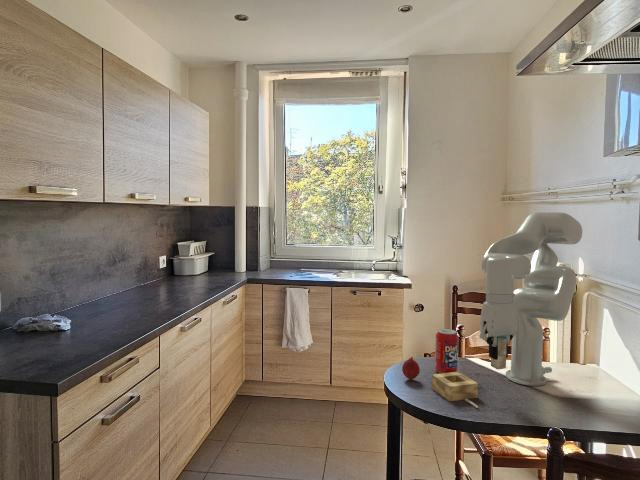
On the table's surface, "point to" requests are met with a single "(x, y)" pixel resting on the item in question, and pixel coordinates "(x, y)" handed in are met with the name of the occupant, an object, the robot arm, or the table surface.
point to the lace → (471, 403)
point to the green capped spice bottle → (500, 353)
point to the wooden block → (454, 386)
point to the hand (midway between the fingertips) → (498, 356)
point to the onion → (410, 368)
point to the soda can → (446, 351)
